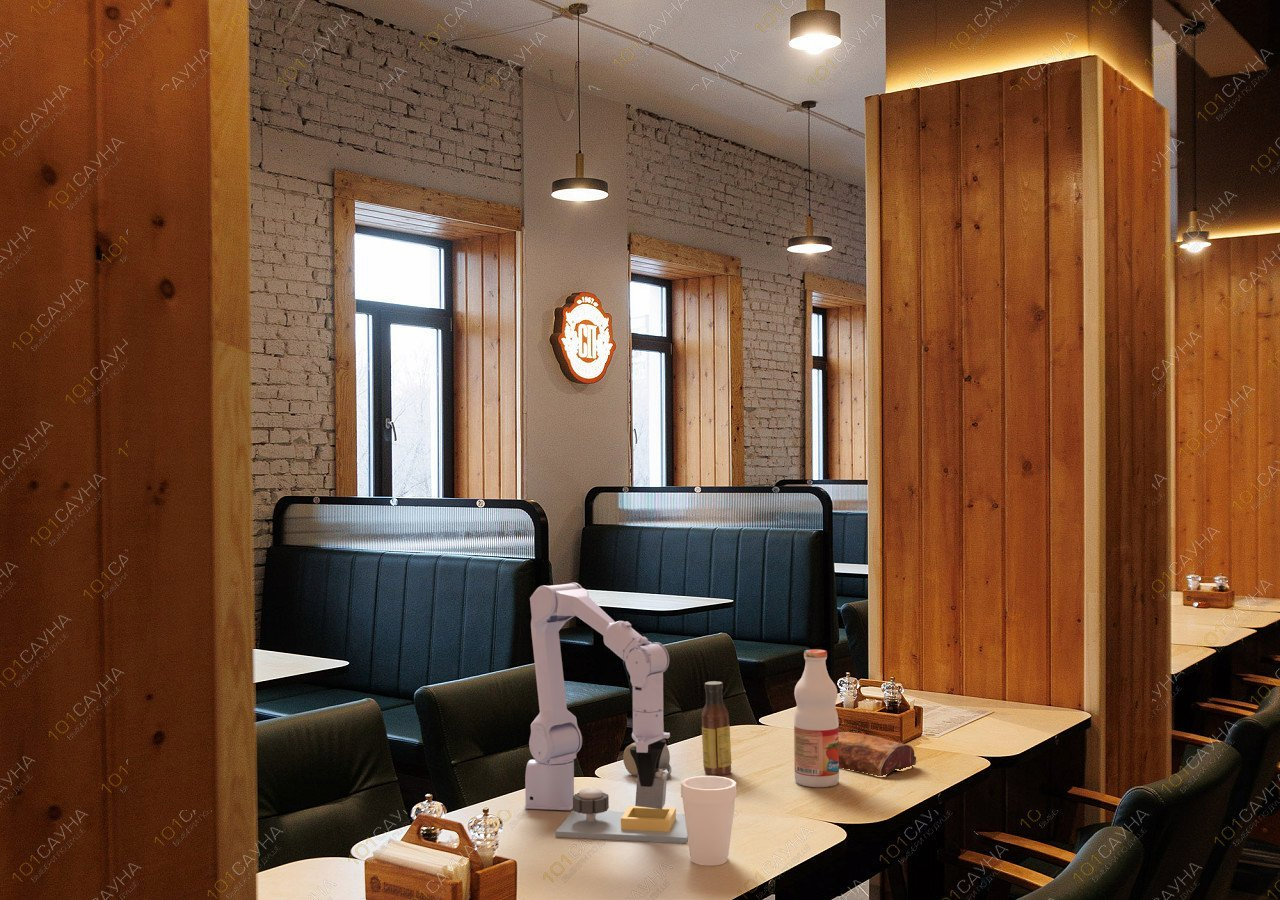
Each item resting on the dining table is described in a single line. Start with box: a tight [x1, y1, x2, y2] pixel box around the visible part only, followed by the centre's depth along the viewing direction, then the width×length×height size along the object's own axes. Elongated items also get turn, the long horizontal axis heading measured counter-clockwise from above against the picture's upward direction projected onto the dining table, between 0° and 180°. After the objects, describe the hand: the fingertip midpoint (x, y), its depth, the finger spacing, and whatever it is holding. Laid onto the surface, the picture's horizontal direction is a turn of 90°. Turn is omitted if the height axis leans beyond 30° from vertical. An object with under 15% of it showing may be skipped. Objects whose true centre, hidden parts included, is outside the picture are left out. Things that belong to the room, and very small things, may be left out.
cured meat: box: [838, 731, 917, 776], centre depth 264 cm, size 18×25×7 cm
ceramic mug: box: [622, 741, 672, 780], centre depth 253 cm, size 11×8×8 cm
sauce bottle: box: [700, 680, 733, 776], centre depth 255 cm, size 7×6×20 cm
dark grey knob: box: [572, 788, 610, 814], centre depth 216 cm, size 6×6×3 cm
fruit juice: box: [793, 649, 840, 788], centre depth 246 cm, size 9×9×28 cm
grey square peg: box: [634, 768, 668, 809], centre depth 214 cm, size 5×4×6 cm
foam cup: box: [680, 775, 738, 867], centre depth 197 cm, size 10×9×13 cm
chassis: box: [555, 805, 688, 844], centre depth 214 cm, size 24×14×3 cm, turn 80°
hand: (648, 782), depth 214 cm, fingers closed on grey square peg, 4 cm apart
